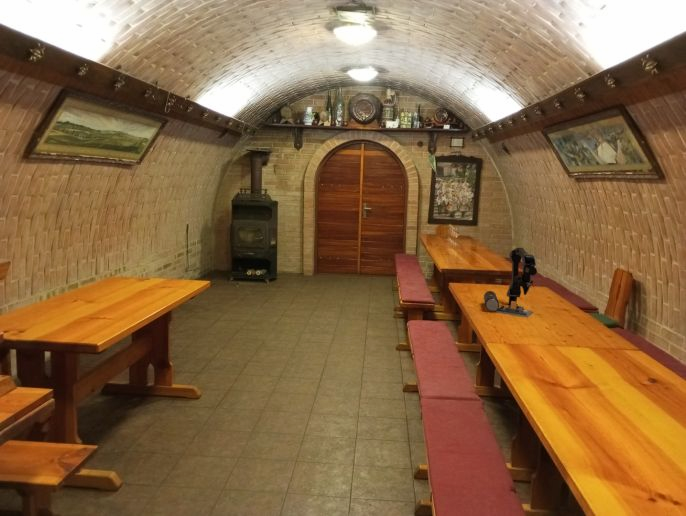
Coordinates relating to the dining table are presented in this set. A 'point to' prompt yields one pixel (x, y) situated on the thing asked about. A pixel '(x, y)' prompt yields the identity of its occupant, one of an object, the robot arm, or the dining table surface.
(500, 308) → the grey flat frame
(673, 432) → the dining table surface
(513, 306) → the toggle
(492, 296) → the muzzle brake
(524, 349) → the dining table surface
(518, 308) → the box
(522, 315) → the panel
